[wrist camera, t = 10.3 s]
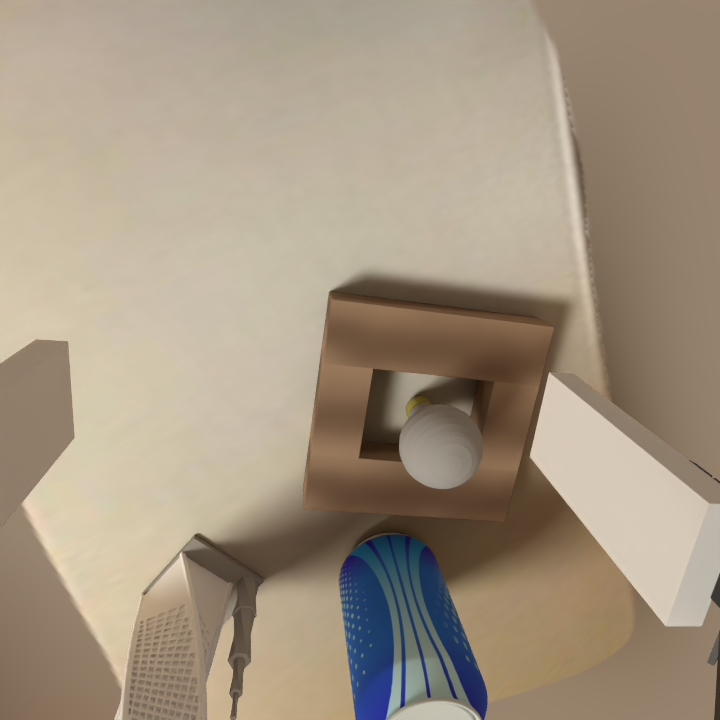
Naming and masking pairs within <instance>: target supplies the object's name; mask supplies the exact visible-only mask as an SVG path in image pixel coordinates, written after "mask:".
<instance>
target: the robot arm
mask: <svg viewBox="0 0 720 720" xmlns="http://www.w3.org/2000/svg"><path fill="white" fill-rule="evenodd" d="M73 439H74V424H73V409H72V394H71V379H70V364H69V349H68V342H67V341H52V340H35V341H33V342H32V343H30V344H29V345H27V346H26V347H24V348H23V349H21V350H20V351H18V352H17V353H15V354H14V355H12V356H11V357H10V358H8V359H7V360H5V361H4V362H2V363H1V364H0V529H1V528H2V527H3V525H4V524H5V523H6V522H7V520H8V519H9V518H10V517H11V515H12V514H13V513H14V512H15V511H16V509H17V508H18V507H19V506H20V504H21V503H22V502H23V501H24V499H25V498H26V497H27V496H28V494H29V493H30V492H31V491H32V490H33V488H34V487H35V486H36V485H37V483H38V482H39V481H40V480H41V478H42V477H43V476H44V475H45V474H46V472H47V471H48V470H49V469H50V467H51V466H52V465H53V464H54V462H55V461H56V460H57V459H58V457H59V456H60V455H61V454H62V453H63V451H64V450H65V449H66V448H67V446H68V445H69V444H70V443H71V441H72V440H73ZM530 458H531V459H532V460H533V461H534V463H535V464H536V465H537V466H538V468H539V469H540V470H541V471H542V473H543V474H544V475H545V476H546V478H547V479H548V480H549V481H550V483H551V484H552V485H553V486H554V488H555V489H556V490H557V491H558V493H559V494H560V495H561V496H562V498H563V499H564V500H565V501H566V503H567V504H568V505H569V506H570V508H571V509H572V510H573V511H574V513H575V514H576V515H577V516H578V518H579V519H580V520H581V521H582V523H583V524H584V525H585V526H586V528H587V529H588V530H589V531H590V533H591V534H592V535H593V536H594V538H595V539H596V540H597V541H598V542H599V544H600V545H601V546H602V547H603V549H604V550H605V551H606V552H607V554H608V555H609V556H610V557H611V559H612V560H613V561H614V562H615V564H616V565H617V566H618V567H619V569H620V570H621V571H622V572H623V574H624V575H625V576H626V577H627V579H628V580H629V581H630V582H631V584H632V585H633V586H634V587H635V589H636V590H637V591H638V592H639V594H640V595H641V596H642V597H643V599H644V600H645V601H646V602H647V603H648V605H649V606H650V607H651V608H652V610H653V611H654V612H655V613H656V615H657V616H658V617H659V619H660V620H661V621H662V622H663V623H664V624H665V626H702V624H703V621H704V618H705V616H706V613H707V610H708V608H709V605H710V603H711V600H713V601H714V602H715V603H716V604H717V605H718V607H720V481H718V480H717V479H716V478H712V475H710V474H709V473H708V472H706V471H705V470H704V469H702V468H701V467H700V466H698V465H697V464H696V463H694V462H692V461H690V460H688V459H686V458H685V457H684V456H682V455H681V454H680V453H678V452H677V451H675V450H674V449H673V448H672V447H670V446H669V445H668V444H666V443H665V442H664V441H662V440H661V439H659V438H658V437H657V436H656V435H654V434H653V433H652V432H650V431H649V430H648V429H646V428H645V427H644V426H642V425H641V424H640V423H638V422H637V421H636V420H634V419H633V418H632V417H630V416H629V415H628V414H626V413H625V412H624V411H622V410H621V409H620V408H618V407H617V406H616V405H614V404H613V403H612V402H610V401H609V400H608V399H606V398H605V397H604V396H602V395H601V394H600V393H598V392H597V391H596V390H594V389H593V388H592V387H590V386H589V385H588V384H586V383H585V382H584V381H582V380H581V379H580V378H578V377H577V376H576V375H574V374H566V373H551V372H549V375H548V379H547V384H546V388H545V392H544V397H543V401H542V405H541V410H540V414H539V419H538V423H537V427H536V432H535V436H534V441H533V445H532V449H531V454H530ZM717 660H718V666H717V682H716V699H715V716H714V720H720V631H719V634H718V636H717V639H716V642H715V644H714V647H713V649H712V652H711V654H710V657H709V659H708V662H707V663H709V664H711V665H714V664H715V663H716V661H717Z"/></svg>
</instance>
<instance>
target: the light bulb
mask: <svg viewBox="0 0 720 720" xmlns="http://www.w3.org/2000/svg"><path fill="white" fill-rule="evenodd" d="M406 413H407V415H408V417H409V419H408V420H407V421H406V423H405V424H404V426H403V428H402V431H401V434H400V439H399V452H400V457H401V460H402V462H403V464H404V466H405V468H406V470H407V471H408V473H409V474H410V475H411V476H412V477H413V478H414V479H415V480H417V481H418V482H420V483H422V484H423V485H425V486H428V487H431V488H436V489H450V488H454V487H457V486H459V485H461V484H463V483H465V482H466V481H468V480H469V479H470V478H471V477H472V476H473V475H474V474H475V472H476V471H477V469H478V467H479V465H480V462H481V459H482V455H483V440H482V436H481V433H480V430H479V429H478V427H477V425H476V424H475V422H474V421H473V420H472V418H471V417H470V416H469V415H467V414H466V413H465V412H463V411H461V410H460V409H458V408H456V407H453V406H450V405H445V404H436V405H432V404H431V402H430V401H429V400H428V399H427V398H425V397H422V396H416V397H414V398H412V399H411V400H410V401H409V402H408V404H407V406H406Z"/></svg>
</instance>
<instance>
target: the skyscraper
mask: <svg viewBox="0 0 720 720" xmlns="http://www.w3.org/2000/svg"><path fill="white" fill-rule="evenodd" d="M262 583H263V578H262V577H260V576H259V575H257V574H256V573H254V572H253V571H251V570H249V569H248V568H246V567H245V566H243V565H241V564H240V563H238V562H237V561H235V560H234V559H232V558H230V557H229V556H227V555H226V554H224V553H222V552H221V551H219V550H218V549H216V548H215V547H213V546H211V545H210V544H208V543H207V542H205V541H203V540H202V539H200V538H199V537H197V536H196V535H194V536H193V537H192V538H191V539H190V541H189V542H188V543H187V544H186V545H185V546H184V547H183V548H182V549H181V551H180V552H179V553H178V554H177V555H176V556H175V557H174V558H173V560H172V561H171V562H170V563H169V564H168V565H167V566H166V567H165V568H164V570H163V571H162V572H161V573H160V574H159V575H158V576H157V577H156V578H155V580H154V581H153V582H152V583H151V584H150V585H149V586H148V587H147V588H146V590H145V591H144V592H143V593H142V595H141V597H140V601H139V605H138V609H137V613H136V617H135V621H134V625H133V629H132V634H131V638H130V643H129V648H128V654H127V659H126V666H125V672H124V679H123V688H122V696H121V703H120V705H119V708H118V711H117V714H116V716H115V719H114V720H207V692H206V682H207V678H208V675H209V672H210V668H211V665H212V661H213V658H214V654H215V650H216V647H217V643H218V639H219V636H220V632H221V629H222V625H223V624H224V623H225V622H226V621H227V620H228V619H229V618H230V616H231V615H233V617H234V638H233V642H232V646H231V650H230V654H229V658H228V662H229V664H230V665H231V667H232V669H233V679H232V683H231V688H230V693H229V694H230V696H231V698H233V704H232V710H231V716H230V719H231V720H235V719H236V714H237V701H238V698H239V697H240V696H241V695H242V687H243V671H244V668H245V667H246V666H247V665H248V664H249V663H250V662H251V631H252V626H253V621H254V618H255V617H256V594H257V590H258V587H259V586H260V585H261V584H262Z"/></svg>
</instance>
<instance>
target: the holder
mask: <svg viewBox="0 0 720 720" xmlns="http://www.w3.org/2000/svg"><path fill="white" fill-rule="evenodd" d="M553 330H554V327H553V326H551V325H549V324H547V323H546V322H544V321H542V320H540V319H538V318H535V317H527V316H519V315H511V314H503V313H495V312H487V311H479V310H471V309H463V308H456V307H448V306H440V305H432V304H424V303H416V302H408V301H400V300H392V299H384V298H376V297H368V296H360V295H352V294H345V293H337V292H329V298H328V305H327V313H326V320H325V328H324V335H323V343H322V350H321V358H320V365H319V372H318V380H317V387H316V395H315V402H314V410H313V417H312V425H311V432H310V440H309V447H308V455H307V462H306V470H305V477H304V485H303V499H304V509H312V510H328V511H343V512H359V513H375V514H390V515H406V516H422V517H437V518H453V519H469V520H484V521H500V522H505V520H506V516H507V512H508V508H509V504H510V500H511V496H512V492H513V488H514V484H515V481H516V477H517V473H518V469H519V465H520V461H521V457H522V453H523V449H524V445H525V441H526V437H527V433H528V429H529V425H530V421H531V417H532V413H533V409H534V405H535V401H536V397H537V393H538V390H539V386H540V382H541V378H542V374H543V370H544V366H545V362H546V358H547V354H548V350H549V346H550V342H551V338H552V334H553ZM373 369H381V370H391V371H400V372H410V373H419V374H428V375H438V376H447V377H457V378H466V379H476V380H478V385H477V389H476V394H475V398H474V403H473V407H472V412H471V416H470V417H471V418H472V420H473V421H474V422H475V424H476V425H477V427H478V429H479V430H480V433H481V436H482V440H483V455H482V459H481V462H480V465H479V467H478V469H477V471H476V472H475V474H474V475H473V476H472V477H471V478H470V479H469V480H468V481H466V482H465V483H463V484H461V485H459V486H457V487H454V488H450V489H436V488H431V487H428V486H425V485H423V484H422V483H420V482H418V481H417V480H415V479H414V478H413V477H412V476H411V475H410V474H409V473H408V471H407V470H406V468H405V466H404V464H403V462H402V460H401V457H400V452H399V445H398V444H386V443H374V442H362V435H363V429H364V422H365V416H366V410H367V404H368V398H369V392H370V385H371V379H372V373H373Z"/></svg>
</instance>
